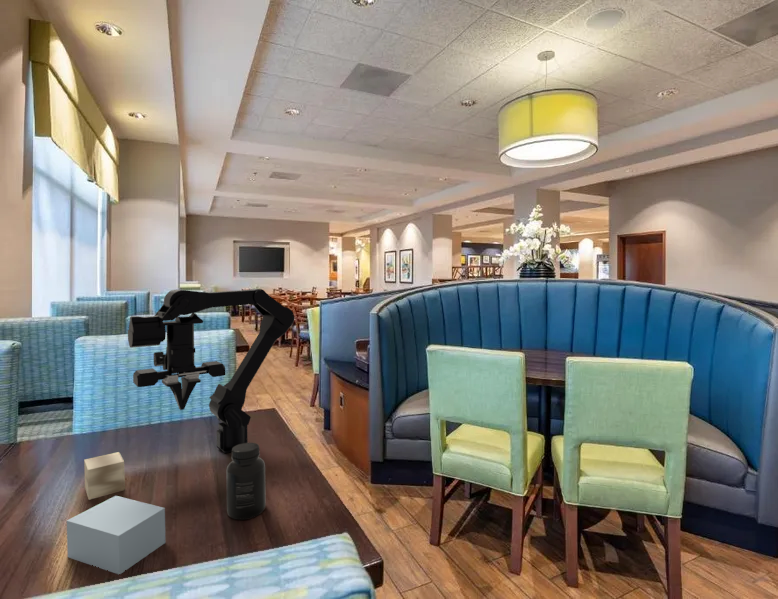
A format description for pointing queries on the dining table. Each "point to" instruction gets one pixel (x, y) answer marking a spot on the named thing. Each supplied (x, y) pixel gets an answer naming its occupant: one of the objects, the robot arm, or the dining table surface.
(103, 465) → the birch cube
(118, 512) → the gray block
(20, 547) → the dining table surface
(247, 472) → the supplement bottle
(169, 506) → the dining table surface
